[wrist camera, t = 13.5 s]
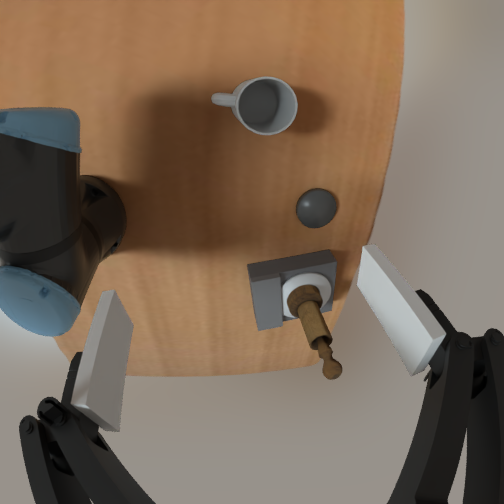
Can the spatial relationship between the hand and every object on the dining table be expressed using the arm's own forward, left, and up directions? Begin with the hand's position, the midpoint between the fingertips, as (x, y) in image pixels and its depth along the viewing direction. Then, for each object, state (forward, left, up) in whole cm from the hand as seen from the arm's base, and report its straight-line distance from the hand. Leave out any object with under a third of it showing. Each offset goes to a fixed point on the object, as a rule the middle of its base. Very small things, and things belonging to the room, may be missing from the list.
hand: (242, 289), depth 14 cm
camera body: (+10, -28, -31) cm, 43 cm away
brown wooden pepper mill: (+11, -28, -26) cm, 40 cm away
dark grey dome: (+15, -12, -31) cm, 36 cm away
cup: (+5, +7, -31) cm, 32 cm away
